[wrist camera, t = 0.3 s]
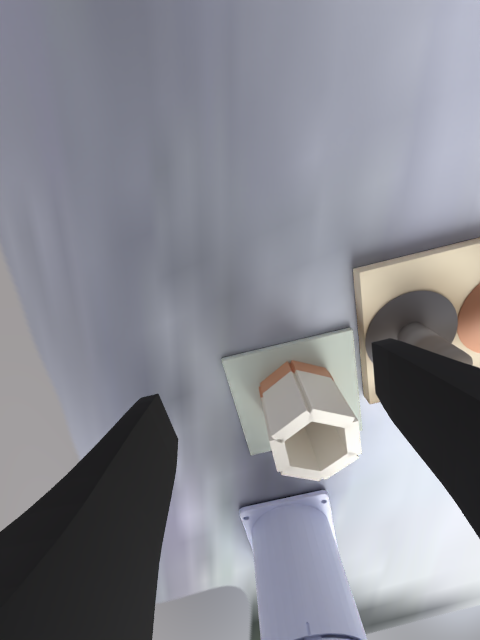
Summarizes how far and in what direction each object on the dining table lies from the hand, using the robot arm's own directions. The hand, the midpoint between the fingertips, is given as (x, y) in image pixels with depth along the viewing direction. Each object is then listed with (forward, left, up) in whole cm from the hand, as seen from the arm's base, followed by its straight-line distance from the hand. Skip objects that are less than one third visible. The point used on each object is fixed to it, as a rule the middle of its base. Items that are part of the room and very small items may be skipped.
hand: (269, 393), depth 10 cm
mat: (-8, -2, -10) cm, 13 cm away
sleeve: (-8, -2, -9) cm, 12 cm away
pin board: (-5, -13, -10) cm, 17 cm away
